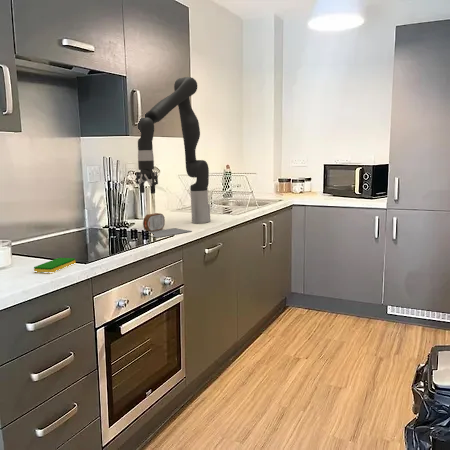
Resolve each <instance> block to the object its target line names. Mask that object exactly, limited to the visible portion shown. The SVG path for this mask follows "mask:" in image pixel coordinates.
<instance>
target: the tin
mask: <svg viewBox="0 0 450 450" xmlns="http://www.w3.org/2000/svg"><path fill="white" fill-rule="evenodd" d="M165 220H166V219H165V216H164V214H163V213H160V212H159V213H157V212H155V213H149V214H146V215H145V216H144V218H143V222H142V226H143V227H142V228H143V230H144V231H146V232H147V231H149V232H154V231H160V230H163V228H165V222H166V221H165Z"/></svg>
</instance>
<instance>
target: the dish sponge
mask: <svg viewBox="0 0 450 450" xmlns="http://www.w3.org/2000/svg"><path fill="white" fill-rule="evenodd" d="M74 263H76V258H73V257H58V258H55V259H52V260H49V261H47V262H44V263H42V264H39V265H36V266H34V267H33V272H34V271H37V272H54V271H56V270H59V269H62V268H64V267H66V266H69V265H71V264H74ZM74 265H75V264H74ZM71 266H72V265H71ZM69 267H70V266H69ZM64 269H65V268H64ZM62 270H63V269H62ZM59 271H60V270H59ZM54 273H55V272H54Z"/></svg>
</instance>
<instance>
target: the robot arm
mask: <svg viewBox="0 0 450 450" xmlns="http://www.w3.org/2000/svg"><path fill="white" fill-rule="evenodd" d="M173 89H174V91H173V92H172V93H170V95H168V96H166V97H164V98H163V99H161V100H160V101H158V102H157V103H156V104H155V105H154V106H153V107H152V108H150V110H149V111H147V112H145V113H146V114H145V113H144V114H145V118H141V119H140V121H139V123H138V129H139V130H140V132H141V133H140V138H139V139H138V140H137V165H138V167H137V169H138V170H139V171H136V172H135V174H136V177H135V179H136V180H135V181H136V182H135V183H136V184H137V185H138V186H139V194H144V193H145V183H146V182H147V183H148V184H149V185H150V186H149V188H150V194H153V195H154V194H155V193H156V186H157V185H159V180H158V172H157V171H153V170H154V169H155V160H154V149H153V140H154V134H155V124H156V123H158V122H161V121H162V120H163V118H165V117H166V116H167V115H168V114H169V113H170V112H172V110H173V109H175V108H176V107H177V106H178V113H179V119H180V126H181V133H182V134H181V135H182V139H183V145H184V157H185V158H184V159H185V170H186V174H187V176H188V177H190V178H193V179H194V178H196V181H195V183H193V184H191V185H190V186H189V189H190V207H191V208H190V210H191V223H192V224H206V223H209V222H211V206H210V205H211V204H210V203H209V192H208V186H209V179H210V178H209V177H210V175H209V174H210V169H209V164H208V163H207V161H206V160H205V159H204V160H203V159H201V160H200V159H197V155H196V154H197V153H196V151H197V146H198V144H199V140H200V137H201V130H200V129H201V128H200V123H199V120H198V117H197V115H196V113H195V112H194V110H193V108H192V105H191V101H190V100H191V99H190V97H192V96H193V95H194V94H196V93H197V90H198V82H197V80H196V79H195V78H194V77H192V76H191V77H189V76H185V77H181V78H177V79H176V80H175V81H174V84H173Z"/></svg>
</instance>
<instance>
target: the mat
mask: <svg viewBox="0 0 450 450" xmlns="http://www.w3.org/2000/svg"><path fill="white" fill-rule="evenodd" d="M150 233H152V234H154V235H153V237H152V238H154V237H156V238H155V239H160V238H165V237H171V236H175V235H176V236H177V235H181V234H188V233H192V230H189V229H182V228H179V227H178V228H177V227H172V228H166V229H161V230H156V231H152V232H150ZM159 237H160V238H159Z"/></svg>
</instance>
